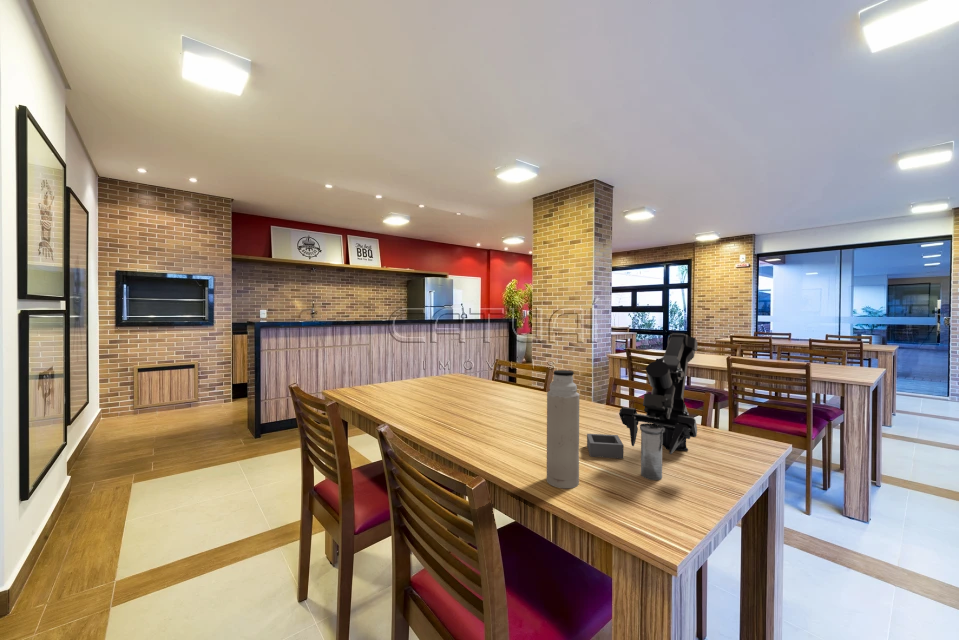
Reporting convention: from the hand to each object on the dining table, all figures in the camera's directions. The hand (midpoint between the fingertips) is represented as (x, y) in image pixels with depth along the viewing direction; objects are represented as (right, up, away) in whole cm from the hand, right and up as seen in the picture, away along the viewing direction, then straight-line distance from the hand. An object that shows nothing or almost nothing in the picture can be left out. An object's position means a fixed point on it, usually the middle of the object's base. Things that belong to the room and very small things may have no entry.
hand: (650, 449), depth 99 cm
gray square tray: (-6, -7, +18) cm, 20 cm away
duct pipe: (0, -7, +1) cm, 7 cm away
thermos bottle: (-24, -7, -3) cm, 25 cm away
